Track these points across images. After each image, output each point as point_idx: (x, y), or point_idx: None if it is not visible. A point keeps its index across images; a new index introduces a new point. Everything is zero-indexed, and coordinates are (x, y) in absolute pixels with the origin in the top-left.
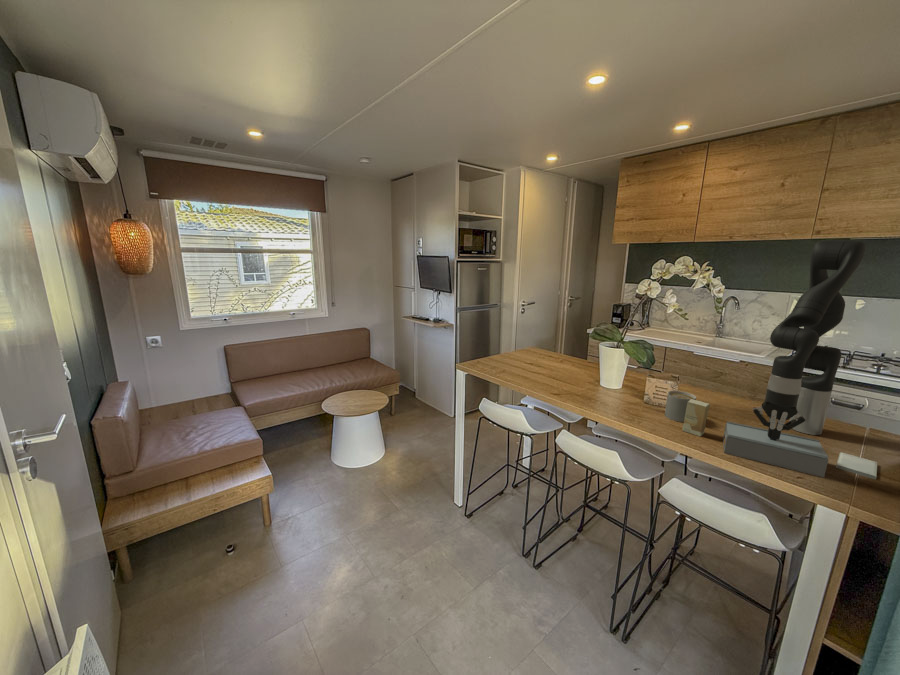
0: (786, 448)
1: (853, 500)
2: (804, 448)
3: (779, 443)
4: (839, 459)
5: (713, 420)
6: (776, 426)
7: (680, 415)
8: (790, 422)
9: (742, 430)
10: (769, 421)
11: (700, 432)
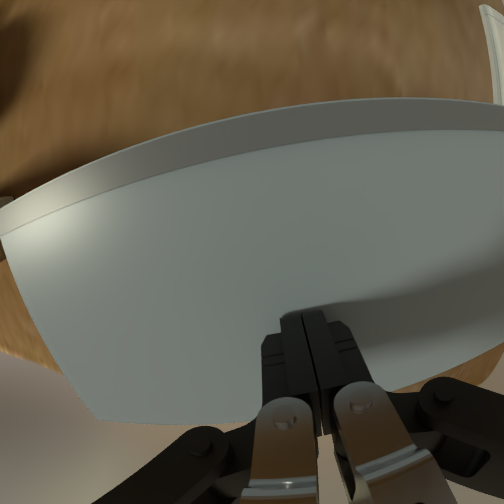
0: None
1: (464, 366)
2: (458, 333)
3: None
4: (502, 77)
5: (28, 4)
6: (336, 438)
7: None
8: (490, 442)
9: (95, 317)
10: (256, 476)
11: (6, 257)
